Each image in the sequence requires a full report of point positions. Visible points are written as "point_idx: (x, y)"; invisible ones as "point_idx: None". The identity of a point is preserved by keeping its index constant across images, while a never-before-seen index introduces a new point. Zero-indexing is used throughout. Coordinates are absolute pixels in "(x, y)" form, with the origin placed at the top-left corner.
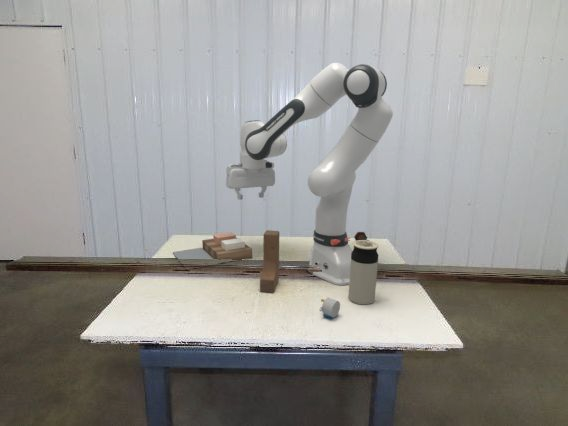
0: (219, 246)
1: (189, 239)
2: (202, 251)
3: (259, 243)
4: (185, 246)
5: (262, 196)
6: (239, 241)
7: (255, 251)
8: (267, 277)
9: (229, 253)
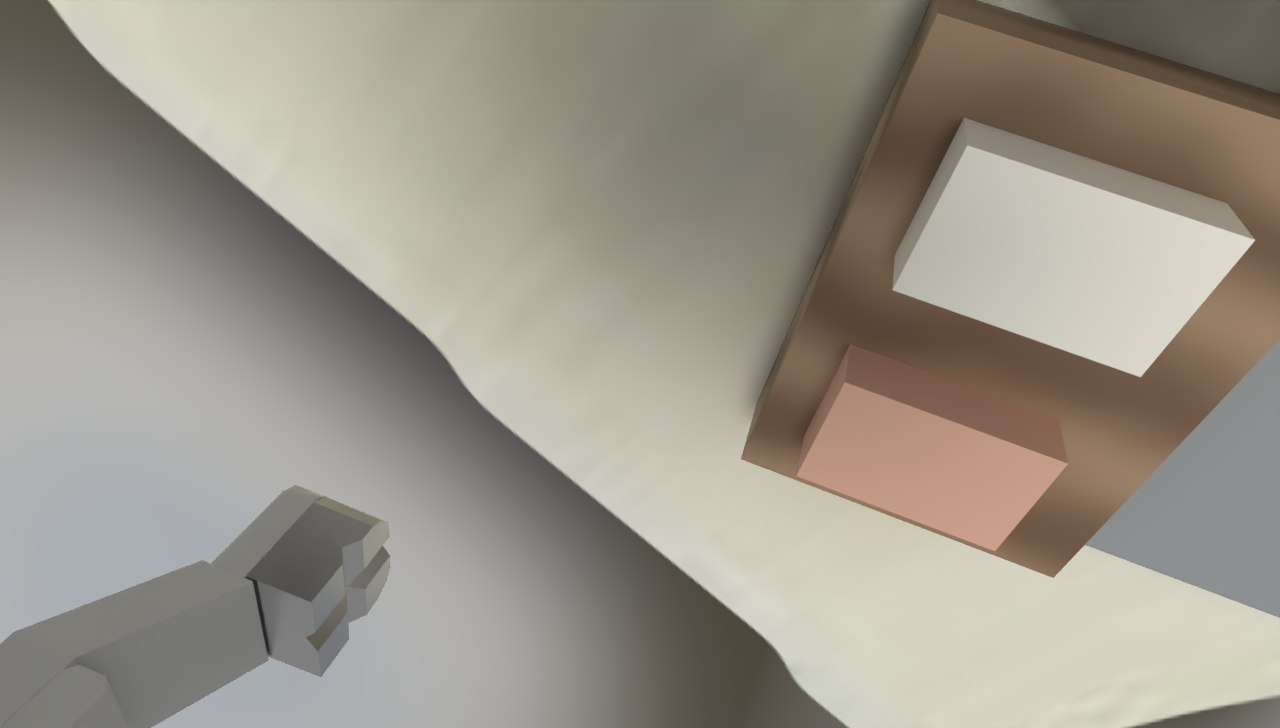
0: None
1: (919, 683)
2: None
3: (564, 261)
4: (1074, 631)
5: (315, 511)
6: (1014, 198)
7: (744, 129)
8: None
9: (1267, 113)
